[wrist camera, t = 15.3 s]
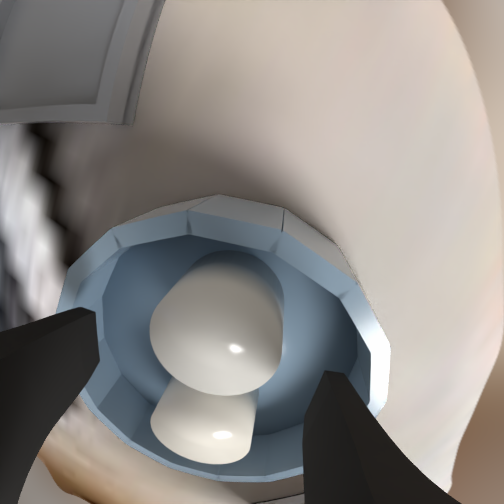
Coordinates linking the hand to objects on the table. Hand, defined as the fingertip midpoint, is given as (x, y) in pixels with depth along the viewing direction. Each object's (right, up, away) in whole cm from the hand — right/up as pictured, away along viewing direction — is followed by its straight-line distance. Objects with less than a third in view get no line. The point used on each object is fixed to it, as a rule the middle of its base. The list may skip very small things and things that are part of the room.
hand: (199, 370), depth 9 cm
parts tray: (-8, +18, +1) cm, 19 cm away
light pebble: (0, -3, +6) cm, 7 cm away
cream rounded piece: (+1, +2, +4) cm, 4 cm away
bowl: (0, -1, +6) cm, 6 cm away
